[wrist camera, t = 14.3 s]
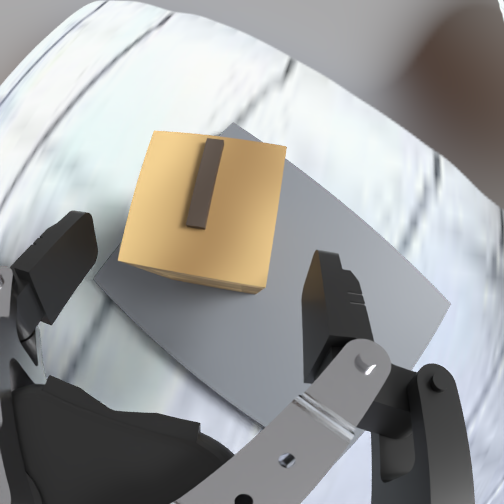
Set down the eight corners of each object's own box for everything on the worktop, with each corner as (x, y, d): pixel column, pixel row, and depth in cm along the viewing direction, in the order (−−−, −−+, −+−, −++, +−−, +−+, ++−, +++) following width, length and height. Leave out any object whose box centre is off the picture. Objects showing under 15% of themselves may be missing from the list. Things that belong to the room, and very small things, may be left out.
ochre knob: (171, 279, 17) (114, 259, 9) (188, 199, 18) (152, 126, 10) (255, 294, 17) (266, 286, 9) (268, 212, 18) (287, 142, 10)
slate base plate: (102, 280, 18) (92, 279, 17) (233, 133, 21) (233, 122, 19) (325, 457, 17) (331, 466, 15) (439, 304, 19) (451, 303, 17)
